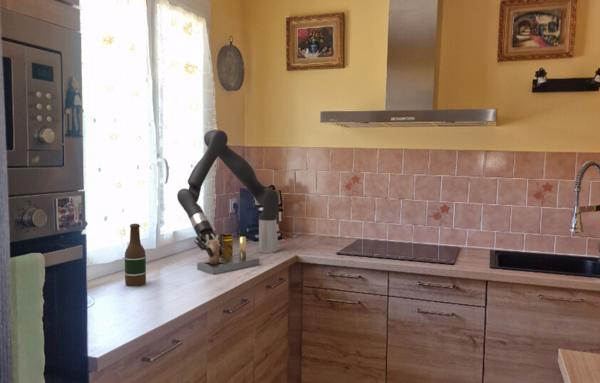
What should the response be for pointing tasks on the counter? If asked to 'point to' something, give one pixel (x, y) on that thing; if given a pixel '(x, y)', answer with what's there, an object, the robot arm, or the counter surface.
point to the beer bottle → (135, 259)
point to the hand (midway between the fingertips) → (216, 255)
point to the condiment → (227, 245)
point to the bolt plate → (230, 261)
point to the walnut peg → (214, 252)
